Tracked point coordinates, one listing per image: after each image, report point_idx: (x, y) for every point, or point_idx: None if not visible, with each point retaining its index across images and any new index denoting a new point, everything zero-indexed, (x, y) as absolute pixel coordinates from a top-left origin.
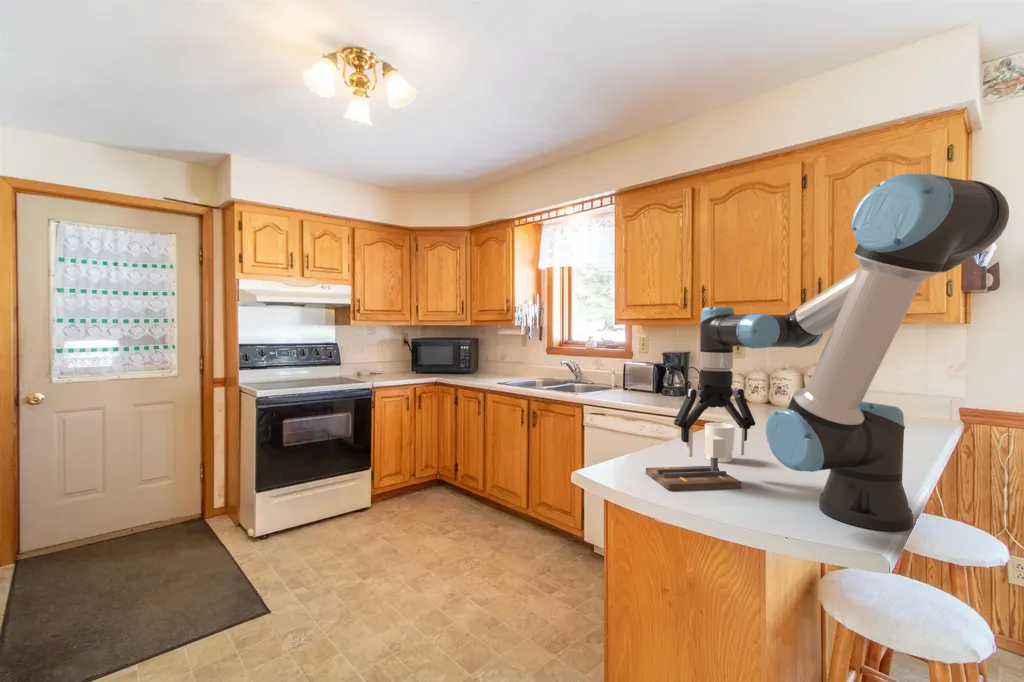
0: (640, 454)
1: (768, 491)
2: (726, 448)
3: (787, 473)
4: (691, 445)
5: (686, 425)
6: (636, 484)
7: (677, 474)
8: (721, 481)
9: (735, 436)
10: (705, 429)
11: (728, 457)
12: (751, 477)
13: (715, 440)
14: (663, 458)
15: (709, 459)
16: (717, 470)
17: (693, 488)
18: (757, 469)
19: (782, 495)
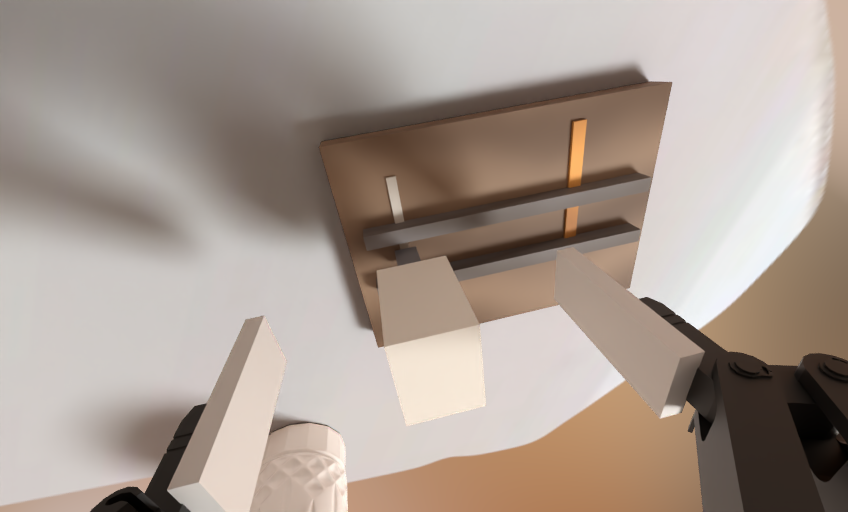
0: (531, 439)
1: (192, 95)
2: (277, 478)
3: (48, 360)
4: (602, 281)
5: (777, 379)
6: (714, 156)
7: (591, 187)
8: (417, 142)
9: (263, 446)
10: None
11: (274, 446)
12: (230, 289)
13: (461, 322)
14: (481, 422)
15: (340, 436)
16: (396, 254)
17: (547, 101)
18: (180, 383)
19: (122, 24)
